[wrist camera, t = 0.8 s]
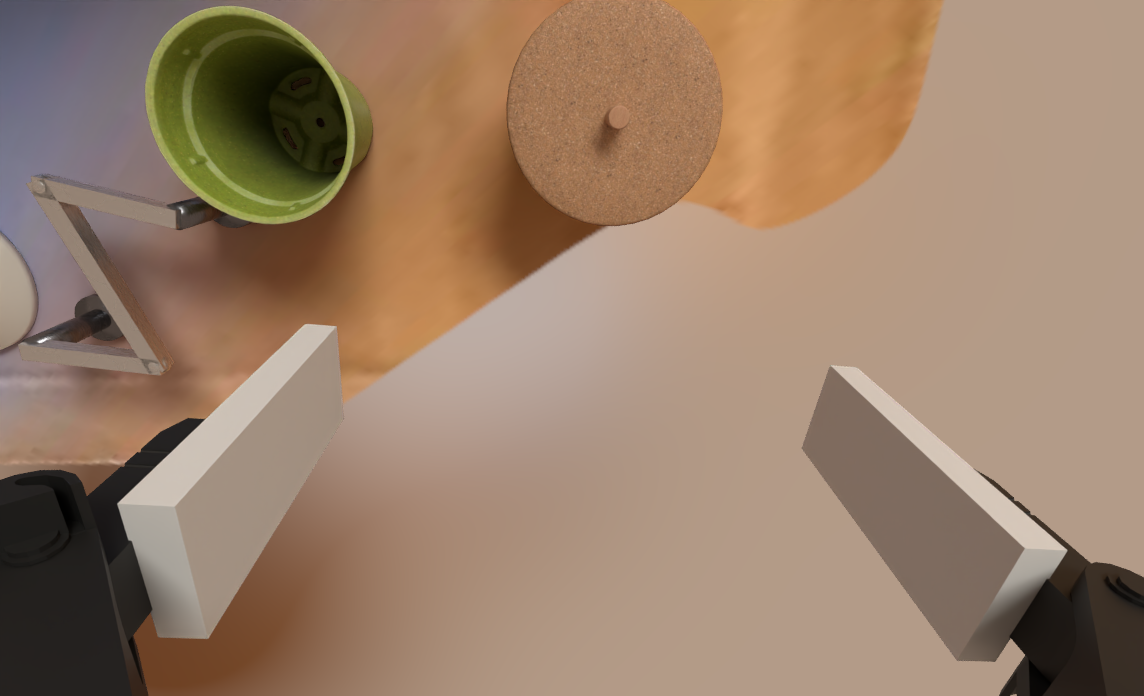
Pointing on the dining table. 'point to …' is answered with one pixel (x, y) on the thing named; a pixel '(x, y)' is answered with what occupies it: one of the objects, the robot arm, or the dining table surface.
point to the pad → (15, 295)
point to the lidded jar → (614, 109)
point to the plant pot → (253, 115)
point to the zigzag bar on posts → (107, 277)
